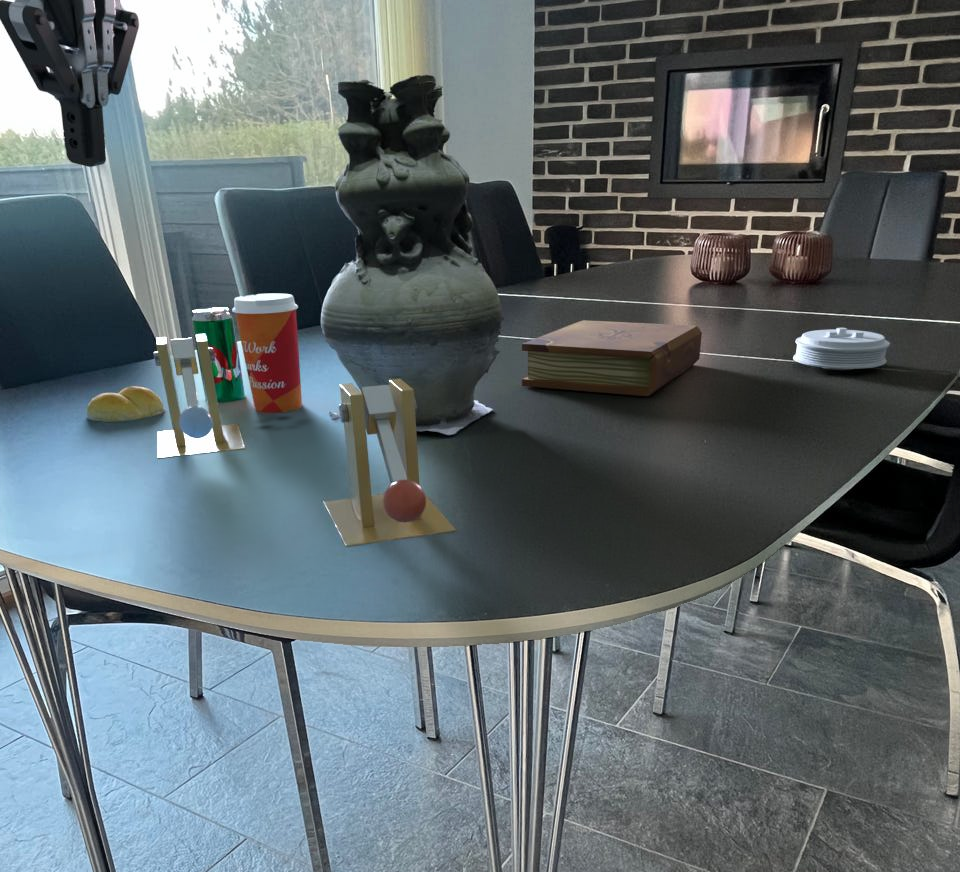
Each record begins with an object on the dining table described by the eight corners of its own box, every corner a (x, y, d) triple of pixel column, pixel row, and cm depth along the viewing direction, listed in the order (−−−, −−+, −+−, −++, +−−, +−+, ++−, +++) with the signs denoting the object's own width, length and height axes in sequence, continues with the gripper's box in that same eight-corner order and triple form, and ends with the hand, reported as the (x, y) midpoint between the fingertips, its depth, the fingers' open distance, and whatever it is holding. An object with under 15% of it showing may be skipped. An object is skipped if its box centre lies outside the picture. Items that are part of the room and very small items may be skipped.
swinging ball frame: (457, 543, 70) (451, 396, 64) (346, 560, 67) (330, 408, 62) (422, 501, 79) (414, 368, 73) (324, 514, 77) (308, 378, 71)
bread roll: (79, 423, 107) (71, 390, 106) (149, 410, 113) (142, 378, 111) (106, 435, 102) (98, 401, 100) (177, 420, 107) (171, 388, 105)
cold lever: (216, 443, 88) (213, 422, 85) (183, 447, 87) (179, 425, 85) (200, 357, 93) (196, 334, 90) (169, 359, 92) (164, 336, 90)
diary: (654, 398, 111) (657, 352, 109) (521, 387, 119) (521, 343, 116) (698, 365, 129) (702, 324, 127) (581, 357, 137) (582, 318, 134)
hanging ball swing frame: (247, 459, 92) (229, 344, 86) (159, 469, 90) (134, 351, 84) (239, 433, 101) (222, 328, 96) (159, 442, 99) (137, 334, 93)
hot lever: (428, 527, 66) (432, 502, 63) (387, 533, 65) (390, 508, 62) (392, 408, 71) (395, 380, 68) (353, 412, 70) (355, 383, 67)
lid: (845, 355, 133) (850, 321, 130) (904, 370, 122) (912, 334, 120) (774, 362, 130) (779, 327, 127) (829, 378, 119) (836, 341, 117)
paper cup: (236, 417, 108) (217, 298, 101) (286, 405, 113) (271, 291, 106) (273, 427, 103) (255, 303, 97) (324, 414, 108) (310, 295, 102)
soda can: (233, 400, 116) (218, 305, 111) (253, 405, 113) (239, 309, 108) (199, 407, 113) (182, 310, 108) (219, 413, 110) (202, 313, 104)
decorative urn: (298, 431, 101) (253, 77, 85) (381, 391, 119) (358, 91, 102) (464, 446, 94) (451, 63, 78) (526, 401, 112) (527, 80, 95)
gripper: (50, -160, 47) (83, 188, 57) (170, -124, 58) (179, 164, 68) (-76, -187, 48) (-22, 163, 58) (65, -147, 58) (90, 143, 69)
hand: (87, 163), depth 63 cm, fingers closed
